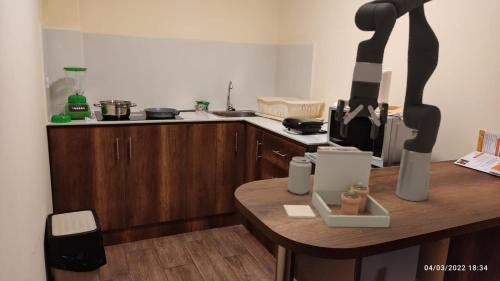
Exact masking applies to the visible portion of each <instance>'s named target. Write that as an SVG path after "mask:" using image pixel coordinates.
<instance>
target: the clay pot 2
mask: <svg viewBox="0 0 500 281" xmlns="http://www.w3.org/2000/svg"><path fill="white" fill-rule="evenodd" d="M350 190H353V191H354V192H355V194H358V195H360V196H361V203H359V206H358V213H364V212H365V211H366V208H365V205H366V198H367V195H370V188H369V186H368V187H365V186H363V183H361V182H359V183H358V184H357V185H351V186H350Z"/></svg>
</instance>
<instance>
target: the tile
mask: <svg viewBox="0 0 500 281" xmlns="http://www.w3.org/2000/svg"><path fill="white" fill-rule="evenodd" d="M283 209H284V211H285V212H286V215H287V217H288V218H289V219H293V218H294V219H316V218H317V217H316V216H317V215H316V214H315V212H313V209H312V208H311V207H310V206H309V205H308V204H307V205H305V204H304V205H303V204H300V205H299V204H293V205H292V204H290V205H289V204H283Z"/></svg>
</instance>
